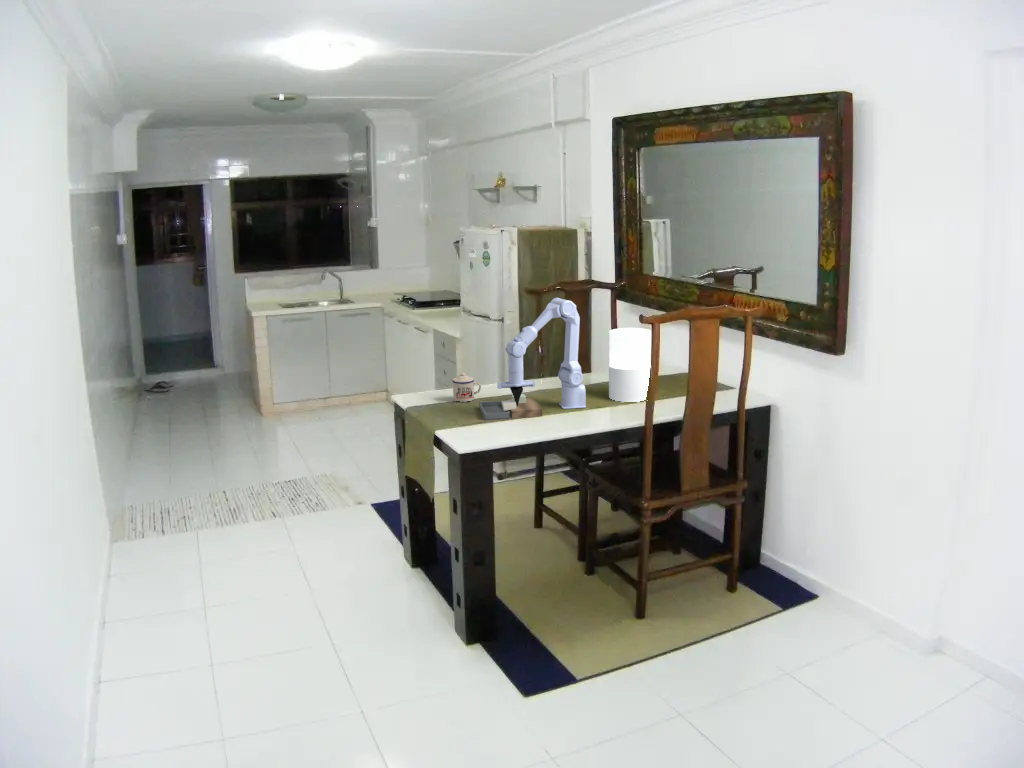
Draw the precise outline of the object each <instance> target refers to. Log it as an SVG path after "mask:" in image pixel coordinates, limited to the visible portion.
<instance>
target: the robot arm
mask: <svg viewBox="0 0 1024 768" xmlns="http://www.w3.org/2000/svg"><path fill="white" fill-rule="evenodd" d="M557 318H561V319H562V320H563V321H564V322H565V330H564V331H565V333H564V334H565V335H564V355H563V357H564V358H563V361H562V362H561V363H560V369H559V371H558V374H557V376H558V379H559V381H560V384H561V402H559V403H558V404H559V406H560V407H561V408H562V409H563V410H569V409H582V408H587V405H586V403H587V401H586V399H587V397H586V393H587V392H586V386H585V384H583V383H582V382H583V378H584V376H583V373H582V367H581V366H582V365H580V363H579V361H578V360H579V342H580V325H581V324H580V321H581V317H580V314H579V313H578V310H577V305H576V304H575V303H574V302H573V301H572V300H571V299H570V300H567V299H563V298H560V297H555V298H552V300H551V301H550V302H549V303H547V305H546V307H545V309H544V310H543V311H542V312H541V313H540V314H539V316H538V317H537V318H536V319H535V320H534V322H533V323H532V324H531V325H527V326H525V327H524V326H523V328H522V329H521V331H520V333H518V335H517V336H515V337H514V338H513V339H512V340H510V341H508V342H507V344H506V347H504V349H505V352H506V353H507V355H508V356H507V357H508V358H507V360H508V381H505V382H504V381H503V382H497V390H499V389H500V390H501V389H510V391H511V395H512V394H513V396H514V400H515V402H516V406H518V403H519V399H520V396H521V394H523V391H524V388H530V387H531V388H535V387H536V382H535V380H524V355H526V352H527V348H528V347H529V346H530V345H531V343H532V342H534V340H536V338H537V337H538V332H539V331H541V329H542V328H543V327H544V326H545V325H547V323H549V322H550V321H551V320H552V319H557ZM581 383H582V384H581Z"/></svg>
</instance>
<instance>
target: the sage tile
mask: <svg viewBox="0 0 1024 768" xmlns="http://www.w3.org/2000/svg"><path fill="white" fill-rule="evenodd" d="M526 398H527V396H526V395H525V393H522V394H521V396H520V399H519V403H526ZM511 399H514V396H513V394H512V393H511Z"/></svg>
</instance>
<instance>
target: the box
mask: <svg viewBox="0 0 1024 768" xmlns="http://www.w3.org/2000/svg"><path fill="white" fill-rule="evenodd" d="M501 401H502V400H495V401H493V400H491V401H479V402H478V404H479V407H478V408H479V410H480V413H481V412H482V413H481V415H482V417H483V419H484V421H492V420H493V421H495V419H497V420H509V419H510V420H511V419H512V418H511V416H510V411H509V410H506V411H504V410H503V408H502V403H501Z"/></svg>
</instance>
